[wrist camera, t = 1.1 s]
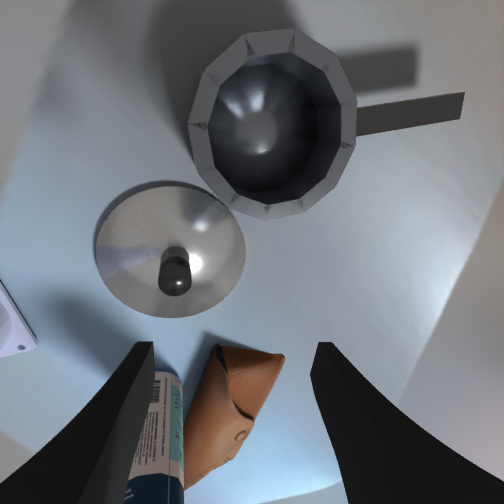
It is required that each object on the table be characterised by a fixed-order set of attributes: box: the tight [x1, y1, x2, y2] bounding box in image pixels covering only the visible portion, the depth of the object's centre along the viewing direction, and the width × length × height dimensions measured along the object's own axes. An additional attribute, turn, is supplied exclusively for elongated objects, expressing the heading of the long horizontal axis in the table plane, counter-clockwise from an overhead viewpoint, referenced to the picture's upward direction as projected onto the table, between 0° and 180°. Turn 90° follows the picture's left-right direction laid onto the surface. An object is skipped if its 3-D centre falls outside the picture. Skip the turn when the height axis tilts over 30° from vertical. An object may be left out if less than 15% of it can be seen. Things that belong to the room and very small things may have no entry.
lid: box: [96, 186, 246, 318], centre depth 21 cm, size 11×11×4 cm
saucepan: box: [186, 28, 465, 220], centre depth 19 cm, size 18×10×4 cm, turn 98°
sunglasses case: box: [183, 343, 285, 491], centre depth 30 cm, size 18×7×7 cm, turn 160°
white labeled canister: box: [123, 371, 184, 504], centre depth 22 cm, size 5×5×12 cm
